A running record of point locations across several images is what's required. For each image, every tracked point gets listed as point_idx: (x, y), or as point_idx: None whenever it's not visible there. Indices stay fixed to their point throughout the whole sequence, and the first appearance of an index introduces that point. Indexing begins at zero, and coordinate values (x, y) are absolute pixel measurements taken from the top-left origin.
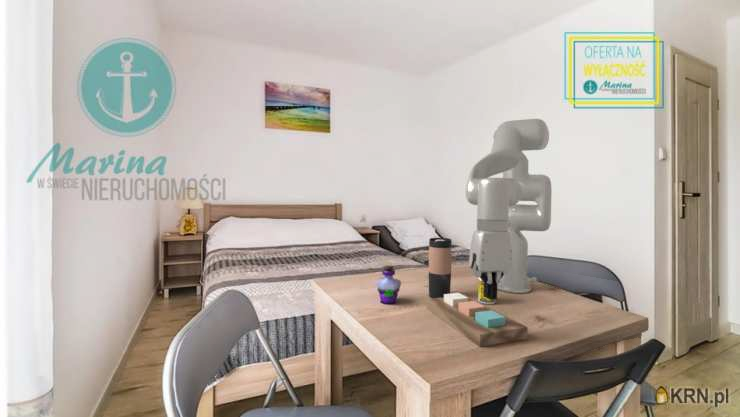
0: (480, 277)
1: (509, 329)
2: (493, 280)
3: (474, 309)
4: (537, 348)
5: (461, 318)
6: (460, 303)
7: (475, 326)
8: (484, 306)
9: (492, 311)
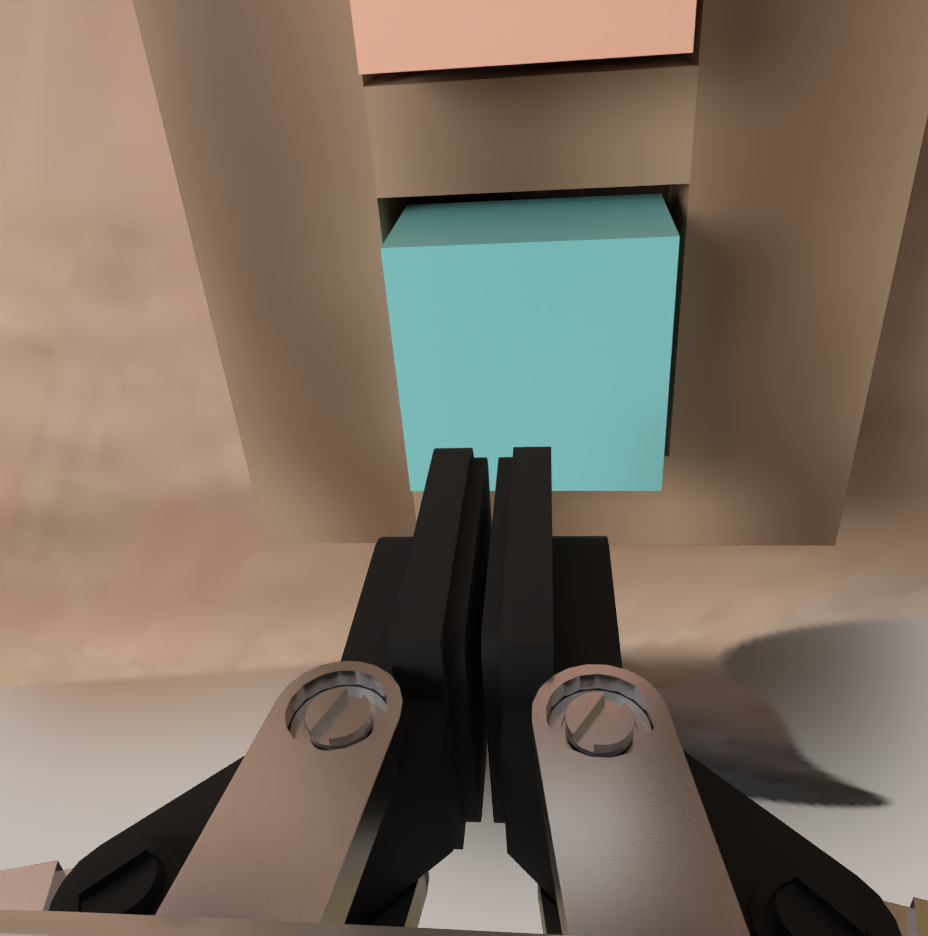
0: (165, 834)
1: (609, 534)
2: (518, 847)
3: (465, 67)
4: (728, 609)
5: (236, 126)
6: None
7: (306, 389)
8: (686, 36)
9: (647, 285)
